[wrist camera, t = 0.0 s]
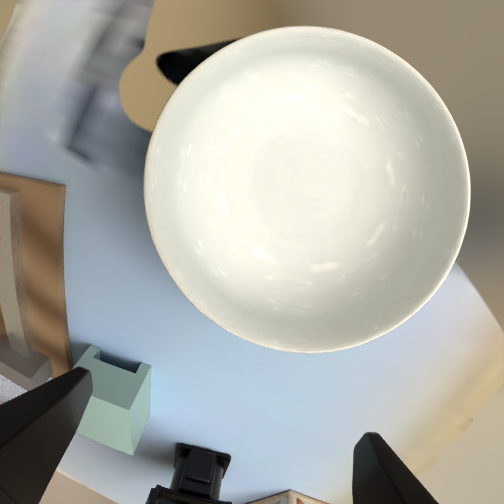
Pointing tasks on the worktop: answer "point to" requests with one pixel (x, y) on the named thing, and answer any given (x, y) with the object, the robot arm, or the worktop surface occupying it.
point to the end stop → (24, 366)
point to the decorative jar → (288, 499)
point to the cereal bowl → (306, 189)
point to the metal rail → (13, 275)
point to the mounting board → (43, 267)
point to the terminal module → (115, 403)
